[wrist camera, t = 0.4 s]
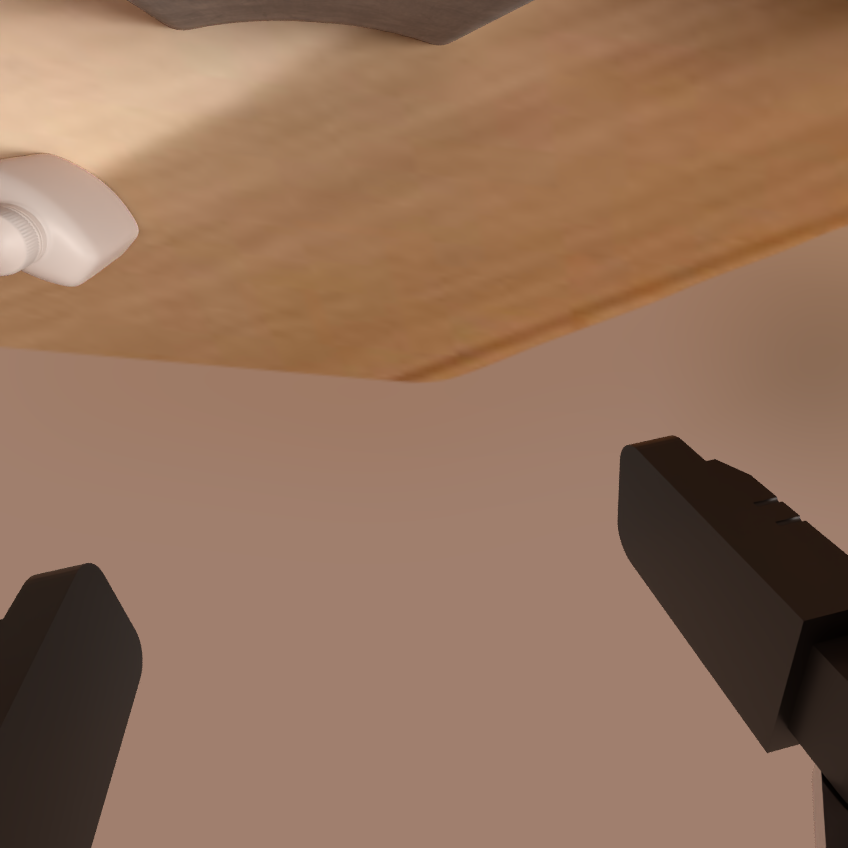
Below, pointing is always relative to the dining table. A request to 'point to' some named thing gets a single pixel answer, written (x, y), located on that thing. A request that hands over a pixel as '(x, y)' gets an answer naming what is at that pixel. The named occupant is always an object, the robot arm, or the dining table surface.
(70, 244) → the eye dropper bottle
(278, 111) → the dining table surface
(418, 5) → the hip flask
